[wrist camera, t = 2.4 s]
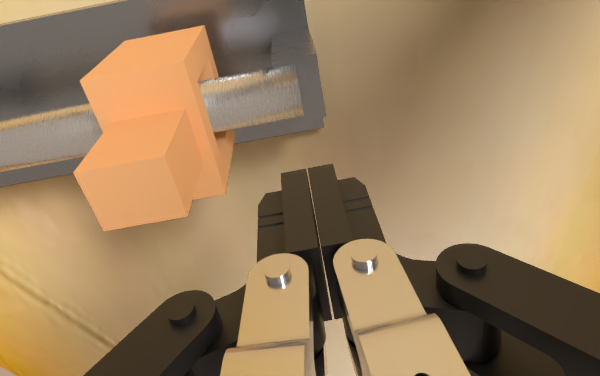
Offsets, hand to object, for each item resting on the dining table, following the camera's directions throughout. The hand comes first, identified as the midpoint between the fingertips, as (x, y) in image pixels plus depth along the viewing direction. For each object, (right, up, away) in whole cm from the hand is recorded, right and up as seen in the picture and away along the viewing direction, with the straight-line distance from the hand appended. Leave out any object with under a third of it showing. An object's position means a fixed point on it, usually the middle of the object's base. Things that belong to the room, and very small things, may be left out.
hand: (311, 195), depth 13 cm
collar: (-6, +5, +10) cm, 13 cm away
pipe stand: (-13, +6, +13) cm, 19 cm away
